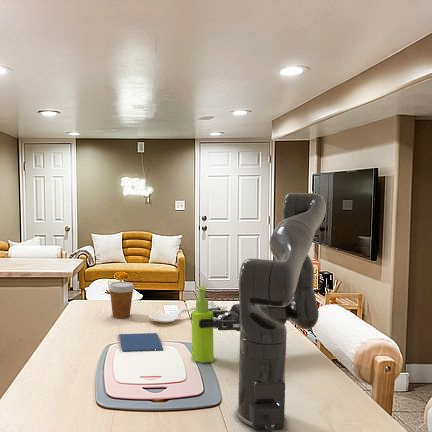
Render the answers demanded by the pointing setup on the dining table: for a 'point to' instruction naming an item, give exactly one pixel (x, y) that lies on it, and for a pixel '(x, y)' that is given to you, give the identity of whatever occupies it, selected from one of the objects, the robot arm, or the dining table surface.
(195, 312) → the soap dispenser
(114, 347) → the dining table surface
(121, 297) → the disposable coffee cup
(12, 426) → the dining table surface
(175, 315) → the spoon
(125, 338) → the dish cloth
